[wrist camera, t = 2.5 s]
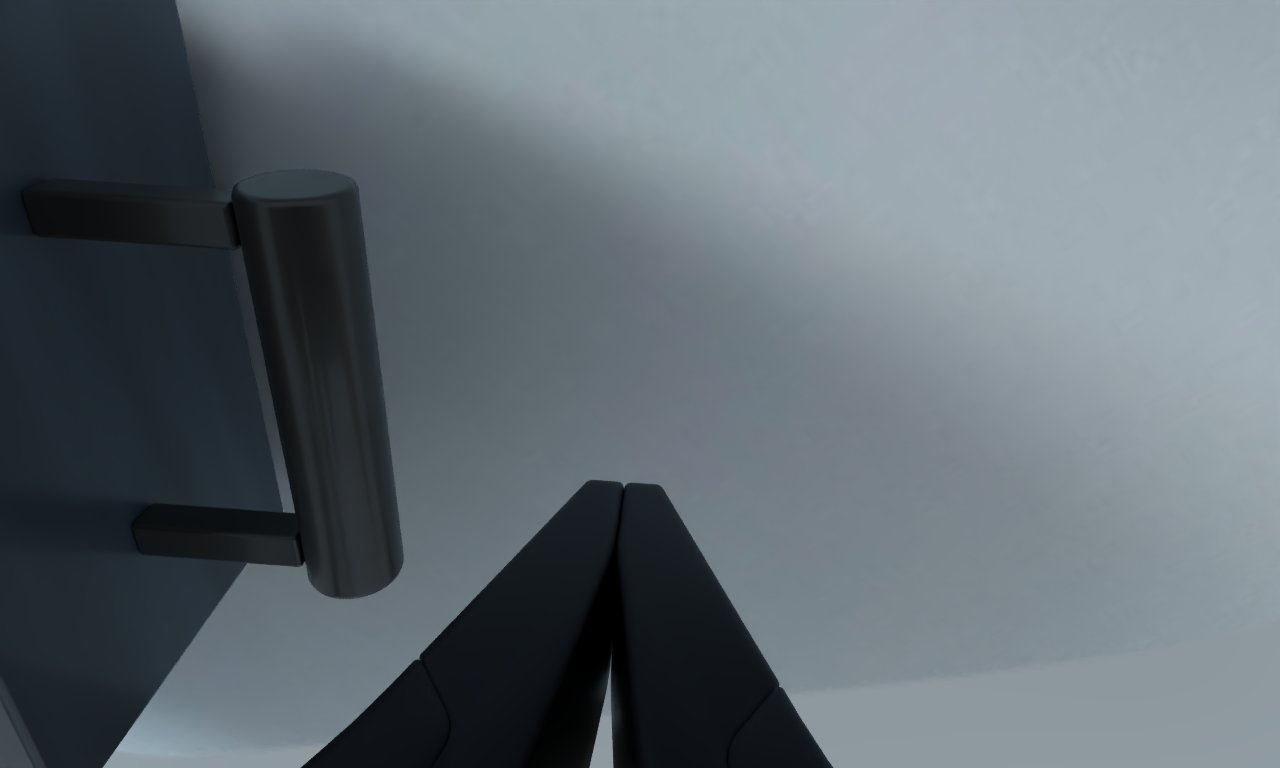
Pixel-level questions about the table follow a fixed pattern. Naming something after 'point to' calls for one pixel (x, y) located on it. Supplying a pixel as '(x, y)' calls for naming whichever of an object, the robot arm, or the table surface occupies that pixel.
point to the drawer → (160, 377)
